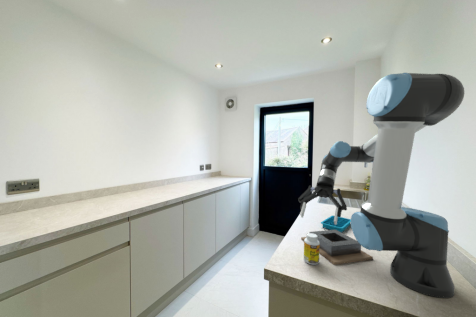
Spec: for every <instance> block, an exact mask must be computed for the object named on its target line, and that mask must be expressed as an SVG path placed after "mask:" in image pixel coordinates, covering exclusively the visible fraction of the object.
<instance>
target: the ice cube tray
mask: <svg viewBox="0 0 476 317" xmlns="http://www.w3.org/2000/svg"><path fill="white" fill-rule="evenodd" d="M334 217H335V215H331V216H329V217H327V218H325V219H324V220H322V221H321V222H320V224H322V228H323V229H327V230H337V231H339V232H341V233H342V232H344V231H345V230H346V229H347V228H348V227H350V226H351V218H347V217H343V216H341V217H338V219H337V225H335V224H334Z"/></svg>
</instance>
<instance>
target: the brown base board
mask: <svg viewBox="0 0 476 317" xmlns="http://www.w3.org/2000/svg"><path fill="white" fill-rule="evenodd" d="M305 238H306V236H302V237H300V240H301V241H303V242H304V239H305ZM332 242H335V241H332ZM319 255H321V256H322V257H323V258H324V259H326V260H328V262H330V263H331V264H332V265H334V266H335V265H343V264H344V265H345V264H351V263H357V262H364V261H371V260H373V259H374V256H372V255H370V254H369V253H367V252H365V251H364V250H362V249H361V253H354V254H346V255H339V256H330V255H328V254H327V253H326V252H324V251H323V250H322V249H320V248H319Z"/></svg>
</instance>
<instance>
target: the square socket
mask: <svg viewBox="0 0 476 317" xmlns="http://www.w3.org/2000/svg"><path fill="white" fill-rule="evenodd" d="M309 233H313V234H316V235H317V236H318V241H319V242H320V247H319V248H320V249H322V250H323V251H324V252H326V253H327V254H328V255H330V256H339V255H346V254H354V253H361V250H362V246H361V245H360V244H359V242H358V241H357V240H356V239H354V238H352V237H350V236H349V235H347V234H345V233H342V232H339V231H337V230H330V229H327V230H315V231H309ZM332 241H335V242H332Z"/></svg>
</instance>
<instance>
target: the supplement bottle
mask: <svg viewBox="0 0 476 317" xmlns="http://www.w3.org/2000/svg"><path fill="white" fill-rule="evenodd" d="M305 237H306V238H305V239H304V241H303V261H304V262H305V263H307V264H309V265H312V266H315V265H319V262H320V254H319V247H320V242H319V241H318V236H317V235H316V234H313V233H307V234H306V235H305Z"/></svg>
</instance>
